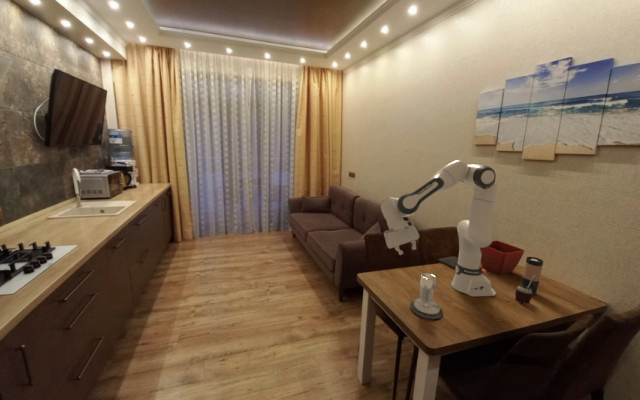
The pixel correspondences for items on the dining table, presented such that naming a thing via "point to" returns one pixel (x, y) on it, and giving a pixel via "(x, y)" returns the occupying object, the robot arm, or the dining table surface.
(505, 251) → the plant pot
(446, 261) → the hardcover book
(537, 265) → the travel mug
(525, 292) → the mate gourd
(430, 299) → the beer glass
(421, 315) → the disc
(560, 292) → the dining table surface
